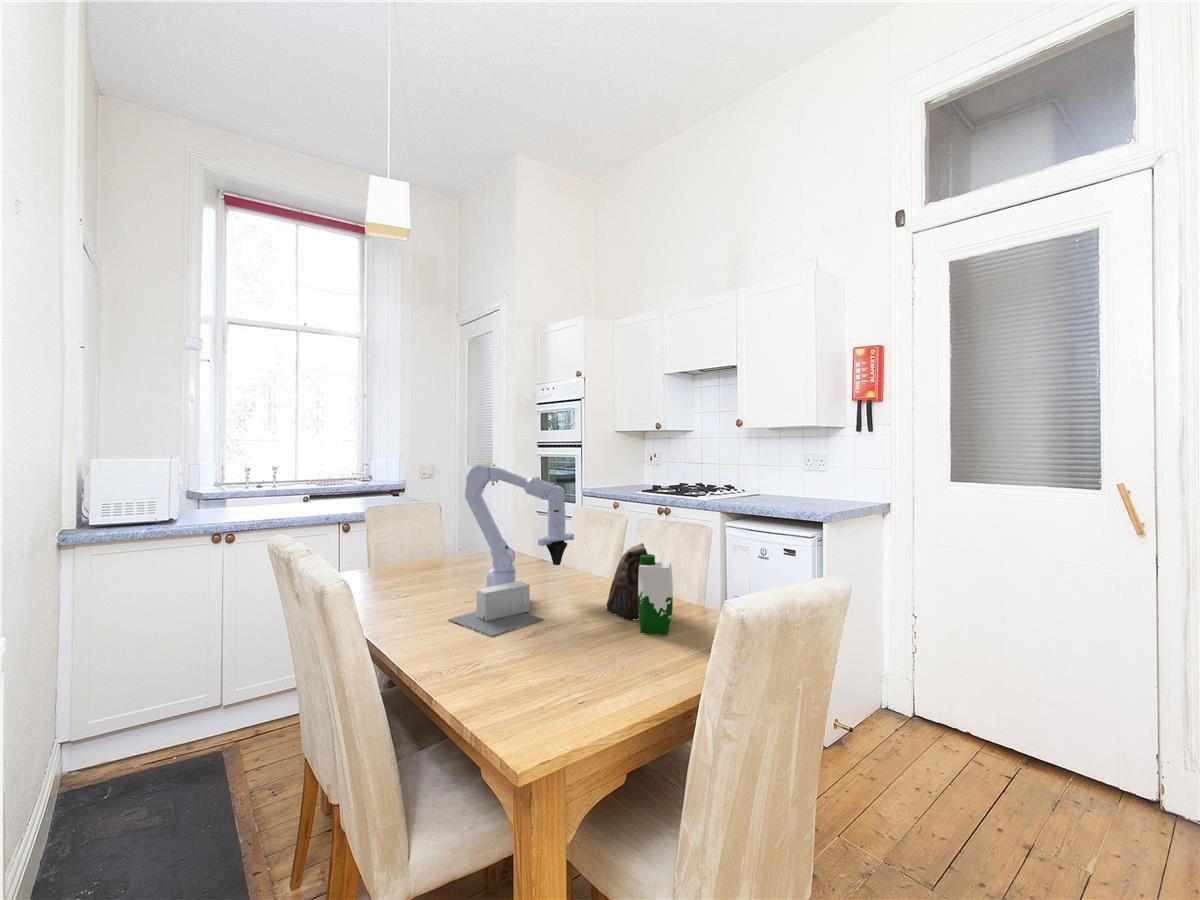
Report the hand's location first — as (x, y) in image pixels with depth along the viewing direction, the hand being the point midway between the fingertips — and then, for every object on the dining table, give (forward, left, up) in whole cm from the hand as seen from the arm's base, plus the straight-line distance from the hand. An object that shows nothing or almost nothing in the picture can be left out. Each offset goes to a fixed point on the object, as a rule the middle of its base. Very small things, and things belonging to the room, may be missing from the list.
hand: (556, 564), depth 180 cm
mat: (+4, -28, -10) cm, 30 cm away
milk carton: (+43, -5, -11) cm, 45 cm away
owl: (+28, +2, -11) cm, 30 cm away
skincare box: (+4, -16, -6) cm, 18 cm away
